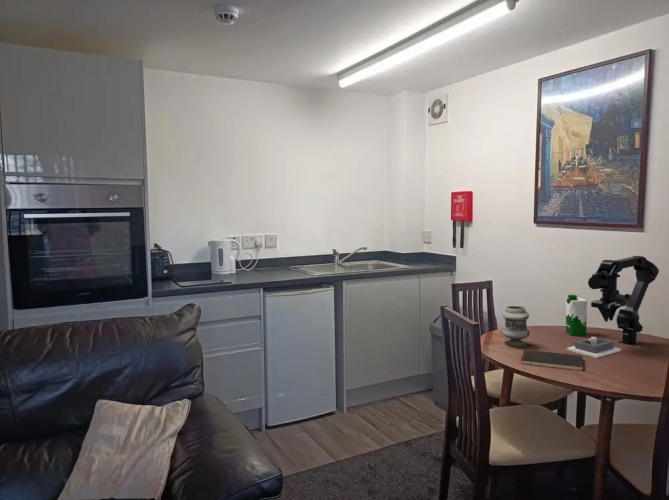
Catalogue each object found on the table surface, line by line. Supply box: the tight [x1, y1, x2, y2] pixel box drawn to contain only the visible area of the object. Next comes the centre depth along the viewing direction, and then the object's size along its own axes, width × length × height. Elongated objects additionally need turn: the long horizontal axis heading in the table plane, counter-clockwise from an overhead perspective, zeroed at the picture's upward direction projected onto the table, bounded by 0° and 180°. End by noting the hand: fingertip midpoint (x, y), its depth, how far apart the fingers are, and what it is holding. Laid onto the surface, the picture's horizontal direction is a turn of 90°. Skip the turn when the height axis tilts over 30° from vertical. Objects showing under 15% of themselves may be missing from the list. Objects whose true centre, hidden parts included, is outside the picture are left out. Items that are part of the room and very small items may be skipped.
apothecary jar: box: [502, 305, 531, 348], centre depth 223 cm, size 12×12×18 cm
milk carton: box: [565, 294, 589, 337], centre depth 238 cm, size 9×9×20 cm
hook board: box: [566, 336, 622, 359], centre depth 211 cm, size 18×14×6 cm
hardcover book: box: [520, 349, 584, 371], centre depth 198 cm, size 16×23×2 cm
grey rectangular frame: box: [574, 337, 614, 353], centre depth 211 cm, size 14×9×3 cm, turn 119°
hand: (608, 321), depth 215 cm, fingers open, 3 cm apart
